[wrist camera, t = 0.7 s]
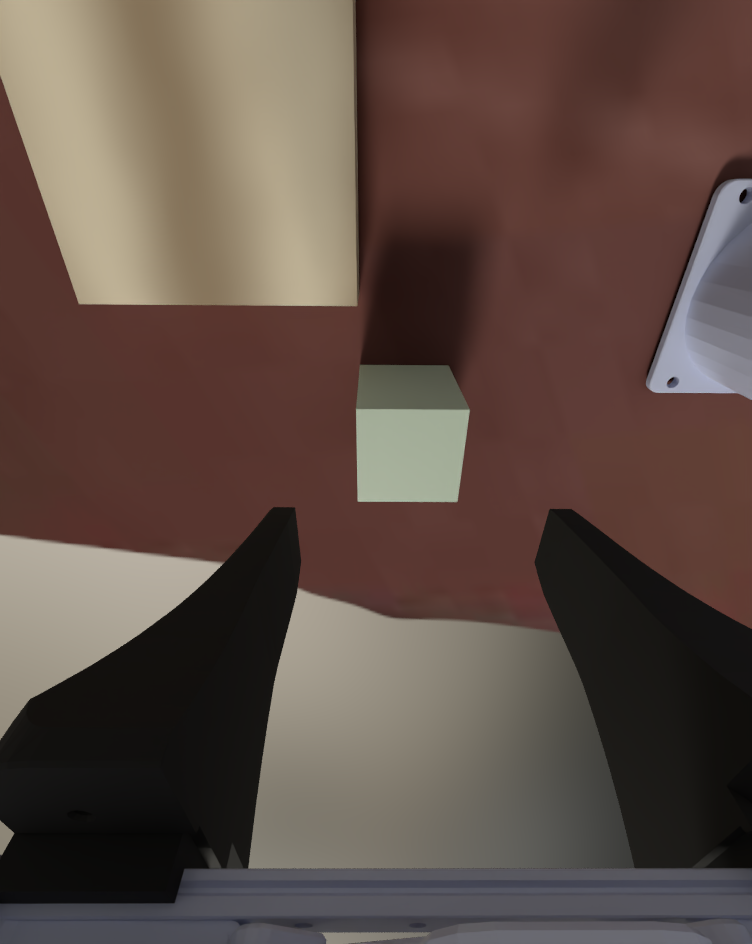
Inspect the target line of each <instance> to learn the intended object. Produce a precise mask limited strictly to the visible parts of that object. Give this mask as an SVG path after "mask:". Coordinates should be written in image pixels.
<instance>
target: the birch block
mask: <svg viewBox="0 0 752 944" xmlns="http://www.w3.org/2000/svg"><path fill="white" fill-rule="evenodd" d="M0 76H1V78H2V81H3V84H4V87H5V90H6V93H7V96H8V99H9V102H10V105H11V108H12V110H13V113H14V116H15V119H16V122H17V125H18V128H19V131H20V134H21V137H22V139H23V142H24V145H25V148H26V151H27V154H28V157H29V160H30V163H31V166H32V169H33V171H34V174H35V177H36V180H37V183H38V186H39V189H40V192H41V195H42V198H43V200H44V203H45V206H46V209H47V212H48V215H49V218H50V221H51V224H52V227H53V230H54V232H55V235H56V238H57V241H58V244H59V247H60V250H61V253H62V256H63V259H64V261H65V264H66V267H67V270H68V273H69V276H70V279H71V282H72V285H73V288H74V291H75V293H76V296H77V299H78V302H79V304H143V305H283V306H357V304H358V298H359V241H358V159H357V78H356V0H0Z"/></svg>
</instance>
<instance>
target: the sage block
mask: <svg viewBox="0 0 752 944" xmlns="http://www.w3.org/2000/svg"><path fill="white" fill-rule="evenodd" d="M469 411H470V409H469V407H468V405H467V403H466V401H465V399H464V397H463V395H462V393H461V390H460V388H459V386H458V384H457V382H456V380H455V378H454V376H453V374H452V372H451V369H450V367H449V365H360V370H359V382H358V394H357V406H356V426H357V483H358V502H457V500H458V493H459V486H460V478H461V471H462V463H463V456H464V448H465V441H466V434H467V426H468V419H469Z"/></svg>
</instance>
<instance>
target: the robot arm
mask: <svg viewBox="0 0 752 944" xmlns="http://www.w3.org/2000/svg"><path fill="white" fill-rule="evenodd" d="M744 189H746V190H747V195H746V197H745V199H744V200H743V201H742V202H741V203H740V201H739V196H740V194H741V193H742V191H743V190H744ZM672 377H674V380H673V381H672V382H671V383H670V384H668V385H667V382H668V380H669V379H671V378H672ZM646 385H647V387H648V388H649V389H650V390H651V391H653V392H657V393H739V394H741V395H743V396H745V397H747V398H749V399H751V400H752V179H731V180H727V181H725V182H723V183H722V184H721V185H720V186H719V187H718V188H717V189H716V191H715V192H714V194H713V197H712V199H711V202H710V205H709V208H708V210H707V213H706V216H705V219H704V222H703V224H702V227H701V230H700V233H699V235H698V238H697V241H696V244H695V247H694V249H693V252H692V255H691V258H690V260H689V263H688V266H687V269H686V272H685V274H684V277H683V280H682V283H681V285H680V288H679V291H678V294H677V297H676V299H675V302H674V305H673V308H672V310H671V313H670V316H669V319H668V322H667V324H666V327H665V330H664V333H663V335H662V338H661V341H660V344H659V346H658V349H657V352H656V355H655V358H654V360H653V363H652V366H651V369H650V371H649V374H648V377H647V380H646ZM300 566H301V556H300V547H299V538H298V530H297V521H296V512H295V508H292V507H273V508H272V509H271V510H270V511H269V512H268V514H267V515H266V516H265V517H264V518H263V520H262V521H261V522H260V523H259V525H258V526H257V527H256V528H255V529H254V531H253V532H252V533H251V534H250V535H249V536H248V538H247V539H246V540H245V541H244V542H243V543H242V544H241V545H240V547H239V548H238V549H237V550H236V551H235V552H234V553H233V554H232V555H231V556H230V558H229V559H228V560H227V561H226V562H225V563H224V564H223V565H222V566H221V567H220V568H219V569H218V570H217V571H216V572H215V573H214V574H213V575H212V576H211V577H210V578H209V579H208V580H207V581H205V582H204V583H203V584H202V585H201V586H200V587H199V588H198V589H197V590H196V591H195V592H193V593H192V594H191V595H190V596H189V597H188V598H186V599H185V600H184V601H183V602H182V603H181V604H179V605H178V606H177V607H176V608H175V609H173V610H172V611H171V612H169V613H168V614H167V615H165V616H164V617H163V618H161V619H160V620H158V621H157V622H156V623H154V624H153V625H152V626H150V627H149V628H148V629H146V630H145V631H143V632H142V633H141V634H140V635H138V636H137V637H135V638H133V639H132V640H130V641H129V642H127V643H126V644H124V645H123V646H121V647H120V648H118V649H117V650H115V651H114V652H112V653H110V654H109V655H107V656H106V657H104V658H102V659H101V660H99V661H98V662H96V663H94V664H93V665H91V666H89V667H88V668H86V669H84V670H83V671H81V672H79V673H77V674H75V675H73V676H72V677H70V678H68V679H66V680H65V681H63V682H61V683H59V684H57V685H56V686H54V687H52V688H50V689H48V690H47V691H45V692H43V693H41V694H39V695H37V696H35V697H33V698H31V699H30V700H29V701H28V703H27V704H26V705H25V706H24V708H23V709H22V710H21V712H20V713H19V714H18V716H17V717H16V719H15V720H14V721H13V722H12V724H11V726H10V727H9V728H8V730H7V731H6V733H5V734H4V736H3V737H2V738H1V740H0V820H1V821H2V822H3V823H4V824H5V825H6V826H7V827H8V828H9V829H11V830H12V831H13V832H14V835H13V837H12V839H11V840H10V842H9V844H8V846H7V847H6V849H5V851H4V853H3V855H0V944H326V939H325V937H324V936H323V934H322V933H317V932H431V933H429V934H428V935H427V936H426V937H414V938H403V939H393V940H383V941H372V942H361V943H351V944H752V629H750V628H748V627H747V626H745V625H743V624H741V623H739V622H737V621H735V620H733V619H731V618H730V617H728V616H726V615H724V614H722V613H721V612H719V611H717V610H715V609H714V608H712V607H710V606H709V605H707V604H705V603H704V602H702V601H700V600H699V599H697V598H695V597H694V596H692V595H690V594H689V593H687V592H685V591H684V590H682V589H681V588H679V587H678V586H676V585H675V584H673V583H672V582H670V581H669V580H667V579H666V578H664V577H663V576H661V575H660V574H658V573H657V572H655V571H654V570H652V569H651V568H650V567H648V566H647V565H645V564H644V563H643V562H641V561H640V560H638V559H637V558H636V557H634V556H633V555H632V554H630V553H629V552H628V551H626V550H625V549H624V548H622V547H621V546H620V545H618V544H617V543H616V542H614V541H613V540H612V539H611V538H609V537H608V536H607V535H605V534H604V533H603V532H601V531H600V530H599V529H598V528H596V527H595V526H594V525H592V524H591V523H590V522H588V521H587V520H586V519H584V518H583V517H582V516H580V515H579V514H578V513H576V512H575V511H573V510H572V509H550V510H549V513H548V517H547V520H546V524H545V527H544V531H543V534H542V538H541V542H540V545H539V549H538V552H537V556H536V559H535V566H536V569H537V573H538V577H539V580H540V584H541V587H542V590H543V593H544V596H545V598H546V601H547V603H548V605H549V608H550V610H551V612H552V614H553V617H554V619H555V621H556V624H557V626H558V628H559V630H560V632H561V635H562V637H563V639H564V641H565V643H566V646H567V648H568V650H569V652H570V654H571V657H572V659H573V661H574V663H575V666H576V668H577V670H578V673H579V675H580V678H581V680H582V683H583V686H584V688H585V692H586V695H587V697H588V700H589V704H590V706H591V710H592V713H593V716H594V718H595V722H596V725H597V728H598V732H599V735H600V738H601V742H602V745H603V748H604V751H605V755H606V758H607V761H608V765H609V768H610V772H611V776H612V779H613V783H614V786H615V790H616V794H617V798H618V801H619V805H620V808H621V813H622V817H623V821H624V825H625V829H626V833H627V837H628V841H629V846H630V850H631V853H632V858H633V862H634V867H635V868H595V869H594V868H587V869H586V868H583V869H582V868H575V869H574V868H572V869H571V868H568V869H567V868H565V869H564V868H560V869H559V868H551V869H550V868H548V869H547V868H546V869H545V868H533V869H532V868H527V869H526V868H522V869H521V868H518V869H517V868H512V869H510V868H507V869H505V868H499V869H498V868H495V869H494V868H493V869H492V868H485V869H484V868H481V869H480V868H475V869H474V868H472V869H470V868H467V869H464V868H463V869H459V868H457V869H455V868H453V869H248V865H249V857H250V848H251V840H252V832H253V823H254V816H255V807H256V799H257V793H258V785H259V778H260V771H261V763H262V756H263V749H264V743H265V736H266V730H267V723H268V716H269V711H270V704H271V698H272V692H273V686H274V681H275V676H276V672H277V667H278V663H279V659H280V656H281V652H282V648H283V644H284V640H285V637H286V633H287V629H288V625H289V622H290V618H291V614H292V610H293V606H294V602H295V598H296V594H297V588H298V581H299V574H300Z"/></svg>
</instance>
